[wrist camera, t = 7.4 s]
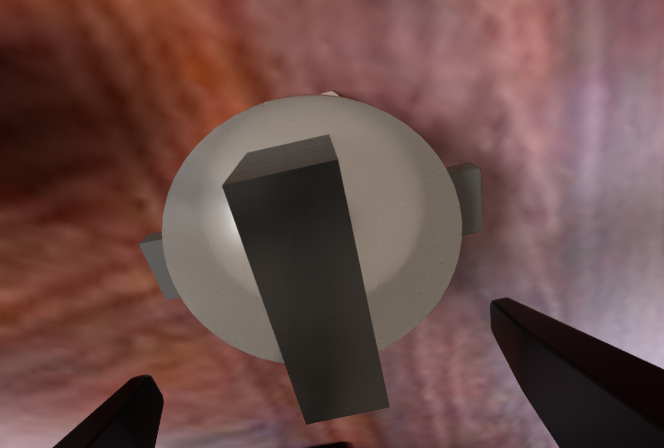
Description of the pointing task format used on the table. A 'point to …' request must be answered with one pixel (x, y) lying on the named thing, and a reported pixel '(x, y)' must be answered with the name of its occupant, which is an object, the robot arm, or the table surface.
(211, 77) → the table surface
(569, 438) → the robot arm
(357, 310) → the cooker lid
